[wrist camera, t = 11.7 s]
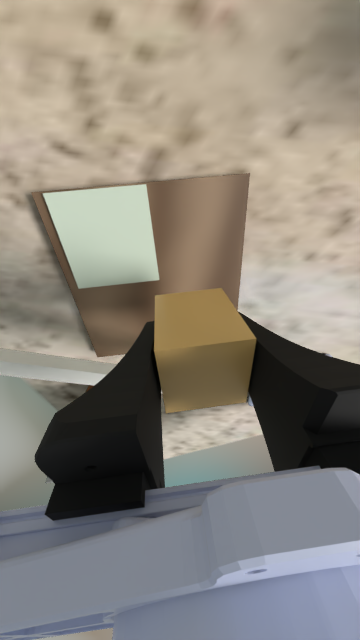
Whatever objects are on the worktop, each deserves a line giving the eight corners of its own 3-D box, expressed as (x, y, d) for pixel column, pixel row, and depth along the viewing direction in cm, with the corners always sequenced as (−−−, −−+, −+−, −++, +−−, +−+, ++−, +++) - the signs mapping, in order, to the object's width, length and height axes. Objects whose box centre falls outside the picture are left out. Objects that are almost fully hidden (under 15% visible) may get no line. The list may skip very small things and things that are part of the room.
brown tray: (244, 174, 14) (293, 164, 9) (231, 334, 22) (254, 378, 17) (38, 192, 13) (-32, 192, 8) (99, 350, 21) (81, 400, 16)
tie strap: (-3, 341, 12) (-18, 355, 11) (198, 370, 15) (201, 383, 14) (2, 365, 13) (-11, 379, 12) (189, 388, 16) (192, 401, 15)
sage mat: (146, 184, 13) (146, 184, 13) (159, 278, 16) (159, 280, 16) (44, 193, 13) (42, 193, 12) (79, 287, 16) (78, 288, 16)
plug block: (221, 287, 12) (256, 338, 8) (219, 340, 14) (246, 402, 10) (154, 295, 12) (154, 351, 8) (163, 347, 14) (166, 413, 10)
